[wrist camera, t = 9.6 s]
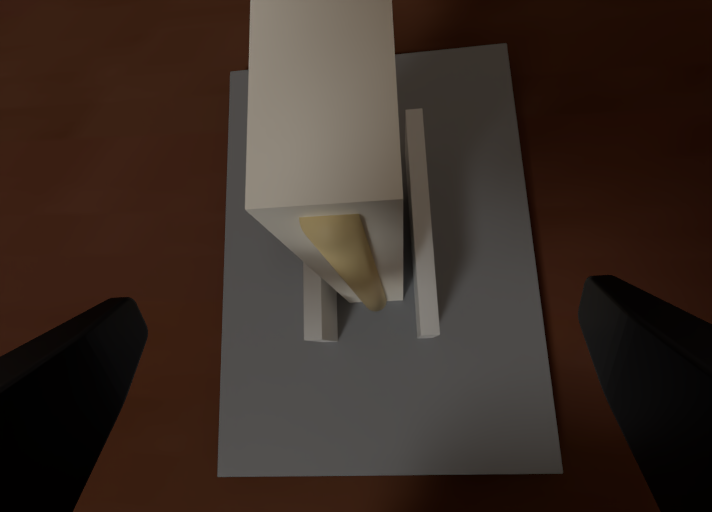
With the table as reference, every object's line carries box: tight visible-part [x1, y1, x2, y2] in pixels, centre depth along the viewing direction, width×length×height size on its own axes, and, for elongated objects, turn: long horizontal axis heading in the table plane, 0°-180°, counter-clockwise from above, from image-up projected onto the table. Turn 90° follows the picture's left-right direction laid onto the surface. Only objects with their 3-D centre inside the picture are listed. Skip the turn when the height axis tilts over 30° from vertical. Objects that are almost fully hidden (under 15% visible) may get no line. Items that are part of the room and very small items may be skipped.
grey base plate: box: [217, 43, 563, 477], centre depth 17 cm, size 18×13×4 cm
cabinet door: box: [245, 0, 403, 311], centre depth 12 cm, size 7×2×12 cm, turn 2°
